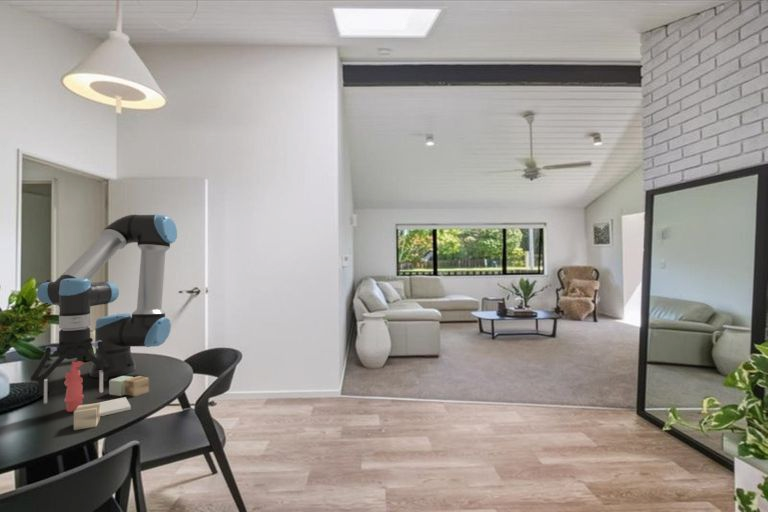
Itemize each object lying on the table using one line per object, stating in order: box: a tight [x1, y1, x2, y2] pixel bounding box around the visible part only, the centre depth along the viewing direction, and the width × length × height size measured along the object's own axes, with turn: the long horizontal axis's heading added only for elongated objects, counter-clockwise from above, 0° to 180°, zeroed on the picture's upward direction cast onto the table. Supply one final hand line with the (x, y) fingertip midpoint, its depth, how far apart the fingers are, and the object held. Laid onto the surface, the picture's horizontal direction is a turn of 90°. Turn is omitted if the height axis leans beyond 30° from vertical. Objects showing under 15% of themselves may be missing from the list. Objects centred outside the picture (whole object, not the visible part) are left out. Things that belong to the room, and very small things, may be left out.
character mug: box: [76, 329, 95, 362], centre depth 170 cm, size 11×7×13 cm, turn 119°
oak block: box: [125, 375, 150, 398], centre depth 132 cm, size 5×5×5 cm
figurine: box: [63, 360, 85, 413], centre depth 118 cm, size 5×5×15 cm
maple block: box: [73, 402, 101, 431], centre depth 108 cm, size 5×5×5 cm
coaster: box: [98, 396, 132, 417], centre depth 118 cm, size 10×10×1 cm
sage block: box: [108, 375, 134, 397], centre depth 132 cm, size 5×5×5 cm
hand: (74, 396), depth 118 cm, fingers open, 13 cm apart
